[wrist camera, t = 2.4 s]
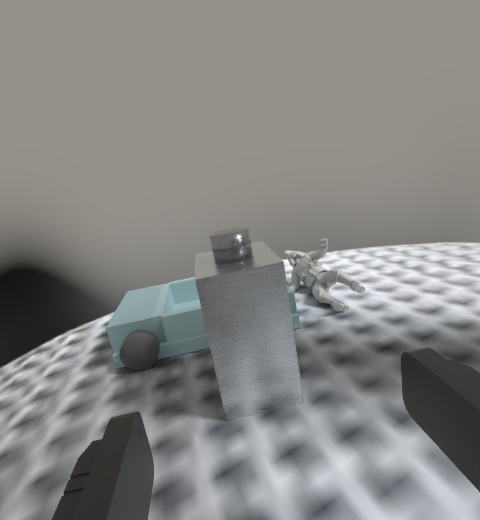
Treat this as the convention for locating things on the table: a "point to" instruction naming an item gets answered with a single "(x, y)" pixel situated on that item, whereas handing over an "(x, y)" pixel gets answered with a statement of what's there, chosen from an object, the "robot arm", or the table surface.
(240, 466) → the table surface
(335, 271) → the soldier figure
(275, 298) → the knobbed metal block
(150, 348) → the chassis
